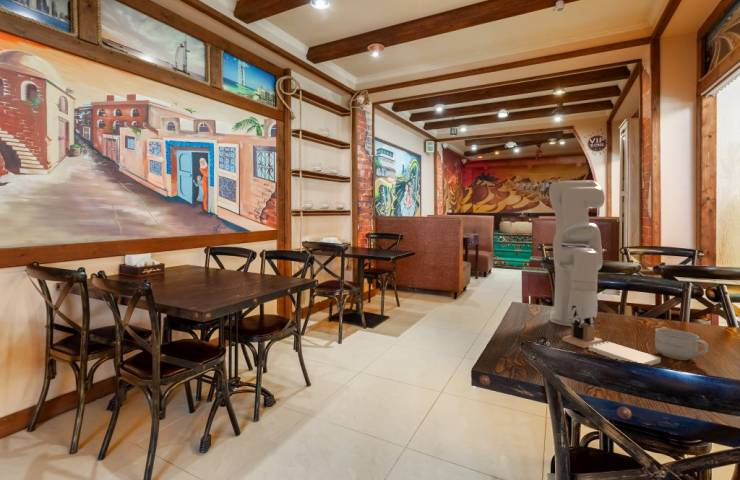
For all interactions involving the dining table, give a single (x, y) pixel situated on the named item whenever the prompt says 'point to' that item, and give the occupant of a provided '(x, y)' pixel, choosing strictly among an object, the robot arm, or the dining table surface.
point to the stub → (587, 336)
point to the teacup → (678, 344)
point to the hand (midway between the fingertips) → (582, 336)
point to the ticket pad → (623, 353)
